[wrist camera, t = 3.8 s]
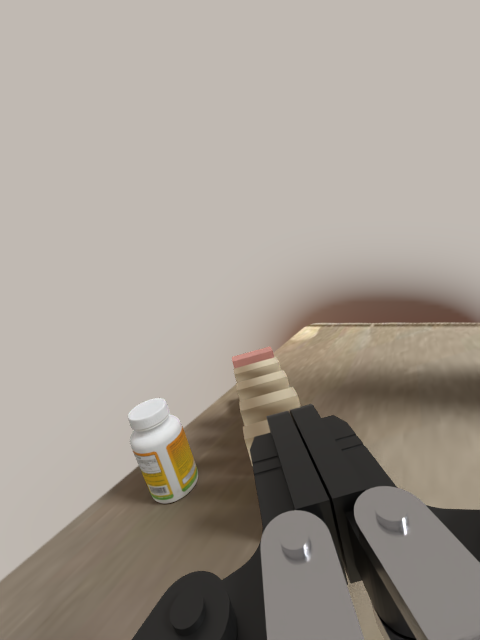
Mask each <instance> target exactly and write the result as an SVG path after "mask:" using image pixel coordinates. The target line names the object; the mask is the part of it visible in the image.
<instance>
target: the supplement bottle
mask: <svg viewBox="0 0 480 640" xmlns="http://www.w3.org/2000/svg"><path fill="white" fill-rule="evenodd" d="M128 420H129V422H130V425H131V428H132V429H133V430H134V431H133V433H132V435H131V437H130V444H131V447H132V450H133V452H134V455H135V457H136V459H137V462H138V464H139V467H140V469H141V472H142V474H143V477H144V479H145V482H146V484H147V486H148V489H149V491H150V494H151V496H152V498H153V499H154V500H155V501H157V502H159V503H172V502H175V501H177V500H179V499H181V498H182V497H184V496H185V495H187V494H188V493H189V492H190V491H191V490H192V489H193V487H194V486H195V484H196V482H197V480H198V470H197V466H196V463H195V461H194V458H193V455H192V452H191V449H190V447H189V444H188V441H187V438H186V435H185V432H184V430H183V427H182V424H181V422H180V420H179V419H178V418H177V417H176V416H174V415H172V414H170V411H169V408H168V405H167V403H166V400H164V399H163V398H155V399H150V400H148V401H145V402H143V403H141V404H139V405H137V406H136V407H134V408H133V409H132V410H131V411H130V412H129V414H128Z"/></svg>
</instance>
